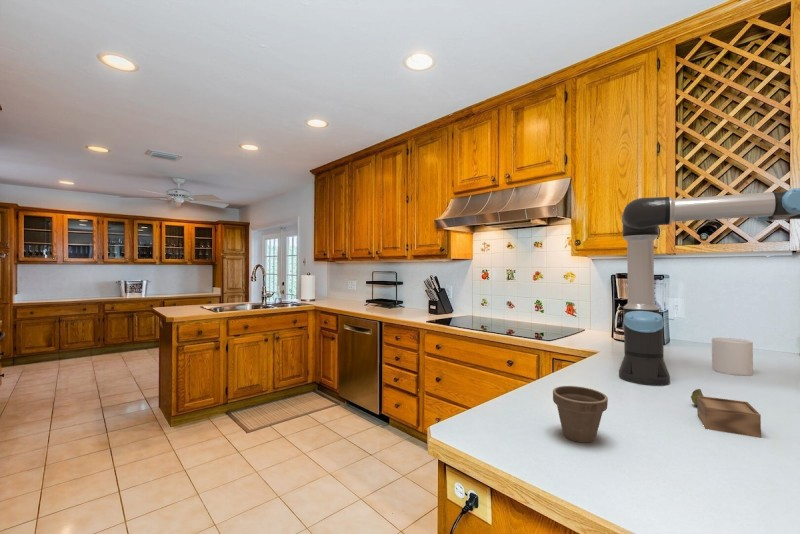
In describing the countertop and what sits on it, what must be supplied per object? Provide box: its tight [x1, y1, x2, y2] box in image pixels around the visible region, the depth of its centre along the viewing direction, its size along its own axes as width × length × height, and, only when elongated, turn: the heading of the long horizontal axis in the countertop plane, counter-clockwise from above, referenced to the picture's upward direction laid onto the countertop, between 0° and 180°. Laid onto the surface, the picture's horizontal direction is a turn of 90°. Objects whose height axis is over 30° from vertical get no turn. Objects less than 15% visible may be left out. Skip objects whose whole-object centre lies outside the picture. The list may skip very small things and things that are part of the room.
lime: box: [690, 388, 704, 406], centre depth 107 cm, size 4×5×5 cm
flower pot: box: [552, 385, 609, 444], centre depth 87 cm, size 12×11×10 cm
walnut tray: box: [696, 395, 762, 439], centre depth 94 cm, size 10×10×6 cm
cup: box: [711, 337, 754, 377], centre depth 145 cm, size 12×12×12 cm
